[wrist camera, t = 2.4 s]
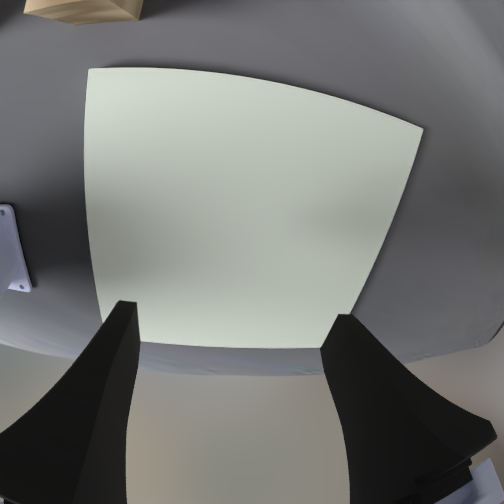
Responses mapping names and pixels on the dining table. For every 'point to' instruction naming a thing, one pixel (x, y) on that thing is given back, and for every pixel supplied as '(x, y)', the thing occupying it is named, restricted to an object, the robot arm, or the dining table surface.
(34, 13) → the pine block
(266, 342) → the board
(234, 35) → the dining table surface
